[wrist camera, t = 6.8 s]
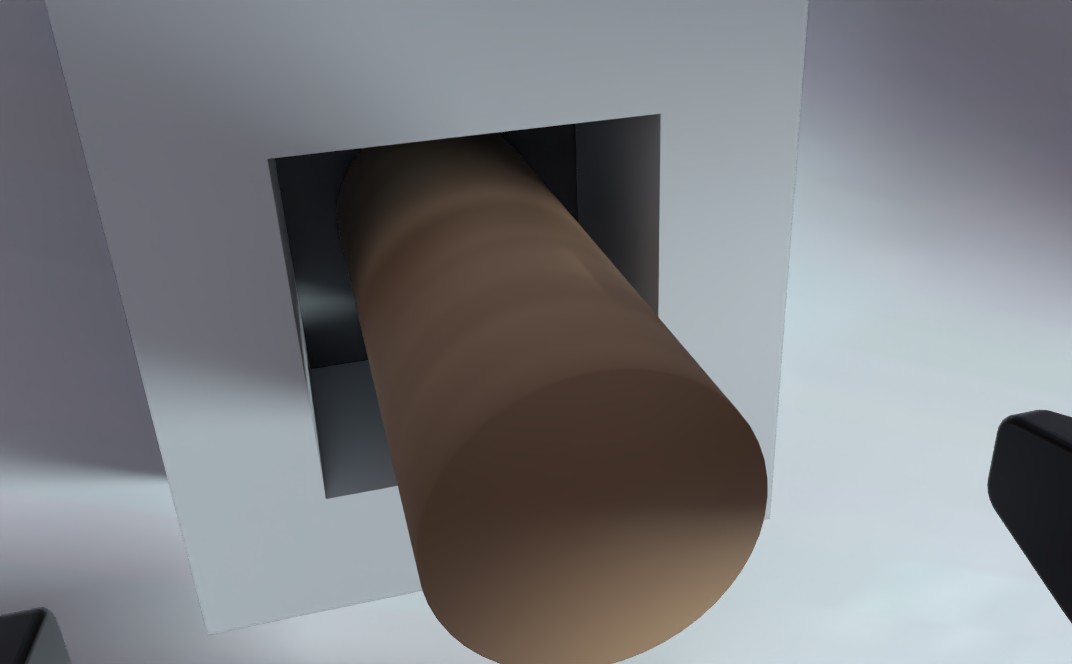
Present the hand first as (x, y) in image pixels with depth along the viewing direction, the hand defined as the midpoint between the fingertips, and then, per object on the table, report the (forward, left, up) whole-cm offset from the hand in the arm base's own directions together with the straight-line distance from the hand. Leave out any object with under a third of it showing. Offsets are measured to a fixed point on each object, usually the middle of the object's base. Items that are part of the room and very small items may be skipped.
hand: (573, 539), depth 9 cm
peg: (0, 0, -9) cm, 9 cm away
